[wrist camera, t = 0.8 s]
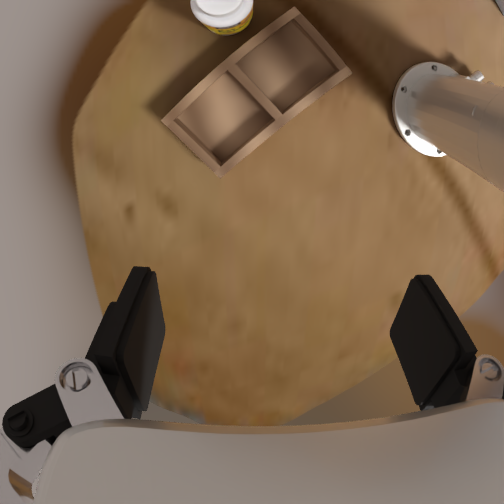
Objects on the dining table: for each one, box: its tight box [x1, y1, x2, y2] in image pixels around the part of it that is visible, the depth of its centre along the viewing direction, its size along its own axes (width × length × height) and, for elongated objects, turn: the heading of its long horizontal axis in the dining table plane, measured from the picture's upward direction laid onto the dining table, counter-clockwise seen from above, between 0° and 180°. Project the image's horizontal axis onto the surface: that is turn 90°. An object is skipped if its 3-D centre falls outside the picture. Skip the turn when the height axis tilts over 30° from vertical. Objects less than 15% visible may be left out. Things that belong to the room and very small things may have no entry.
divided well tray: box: [161, 7, 352, 178], centre depth 31 cm, size 19×10×3 cm, turn 132°
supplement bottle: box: [191, 0, 253, 36], centre depth 23 cm, size 6×6×10 cm
